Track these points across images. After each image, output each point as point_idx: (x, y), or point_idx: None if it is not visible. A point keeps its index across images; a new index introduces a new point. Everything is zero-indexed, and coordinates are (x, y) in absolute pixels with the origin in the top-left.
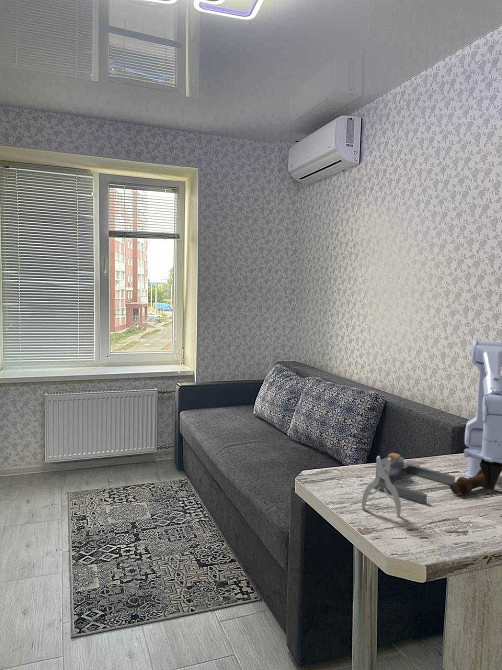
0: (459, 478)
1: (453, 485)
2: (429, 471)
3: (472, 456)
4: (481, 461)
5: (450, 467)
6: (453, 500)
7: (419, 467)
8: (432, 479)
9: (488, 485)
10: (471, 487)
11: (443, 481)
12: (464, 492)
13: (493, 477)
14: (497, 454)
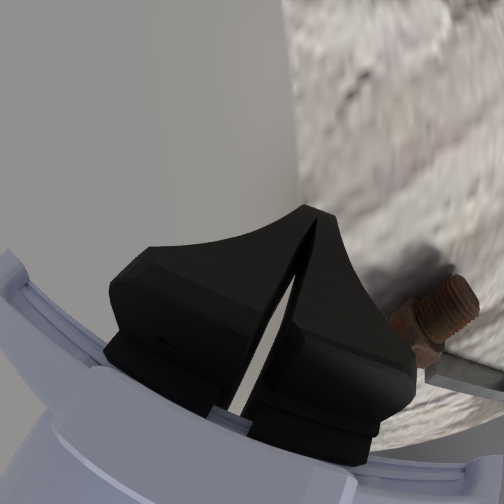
0: (438, 355)
1: (473, 304)
2: (488, 387)
3: (438, 476)
4: (369, 435)
5: (396, 424)
6: (473, 223)
7: (501, 396)
8: (479, 365)
9: (323, 219)
10: (394, 320)
11: (457, 361)
12: (417, 302)
13: (261, 237)
14: (21, 476)
